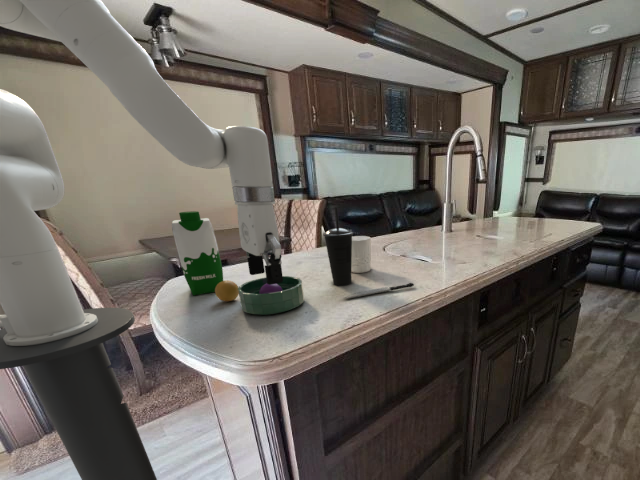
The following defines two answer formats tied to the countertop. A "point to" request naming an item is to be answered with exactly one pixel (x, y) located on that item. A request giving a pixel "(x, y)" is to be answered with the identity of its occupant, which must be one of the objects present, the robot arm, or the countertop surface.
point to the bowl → (271, 296)
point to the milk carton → (197, 252)
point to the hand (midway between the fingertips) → (265, 278)
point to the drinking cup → (339, 253)
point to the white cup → (361, 254)
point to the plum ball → (270, 288)
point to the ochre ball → (226, 291)
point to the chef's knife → (380, 290)
